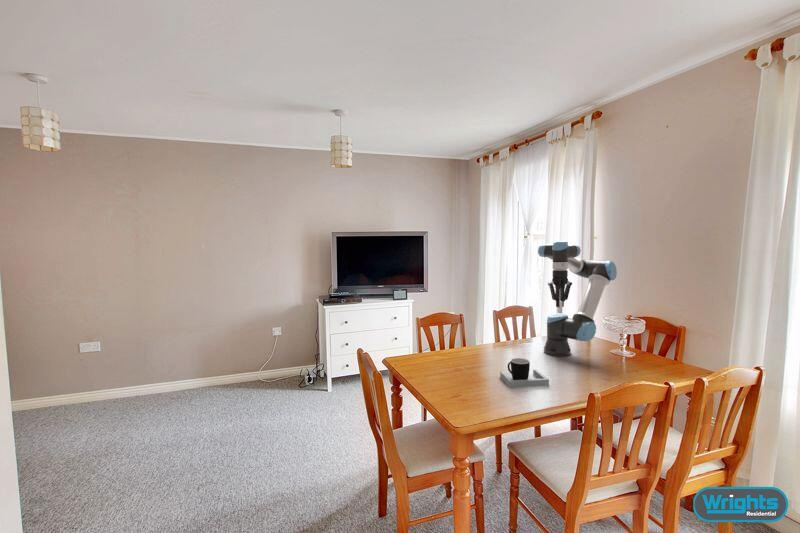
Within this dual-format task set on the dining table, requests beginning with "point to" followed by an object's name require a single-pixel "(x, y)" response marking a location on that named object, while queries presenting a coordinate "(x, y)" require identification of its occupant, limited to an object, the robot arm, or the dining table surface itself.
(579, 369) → the dining table surface
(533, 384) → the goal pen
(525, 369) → the mug
